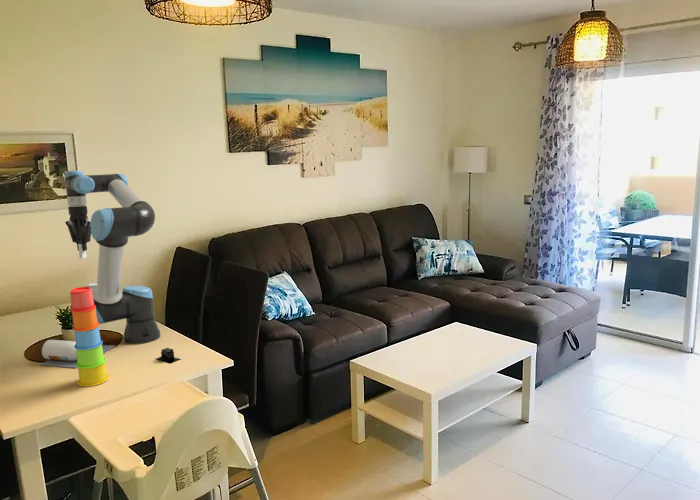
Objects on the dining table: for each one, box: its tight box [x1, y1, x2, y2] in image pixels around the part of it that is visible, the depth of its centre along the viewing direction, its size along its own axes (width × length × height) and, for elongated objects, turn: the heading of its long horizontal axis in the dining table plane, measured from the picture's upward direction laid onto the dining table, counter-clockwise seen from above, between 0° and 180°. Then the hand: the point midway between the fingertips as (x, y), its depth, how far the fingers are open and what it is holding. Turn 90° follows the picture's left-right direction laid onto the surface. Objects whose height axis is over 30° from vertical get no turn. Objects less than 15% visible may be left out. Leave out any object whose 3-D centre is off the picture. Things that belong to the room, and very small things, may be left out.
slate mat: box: [39, 344, 116, 369], centre depth 228 cm, size 16×24×1 cm, turn 166°
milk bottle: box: [41, 339, 77, 361], centre depth 221 cm, size 8×8×20 cm
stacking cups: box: [69, 286, 110, 388], centre depth 199 cm, size 10×10×35 cm
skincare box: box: [85, 283, 97, 292], centre depth 300 cm, size 6×4×12 cm
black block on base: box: [155, 347, 182, 365], centre depth 221 cm, size 12×7×5 cm, turn 55°
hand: (83, 257), depth 253 cm, fingers closed
